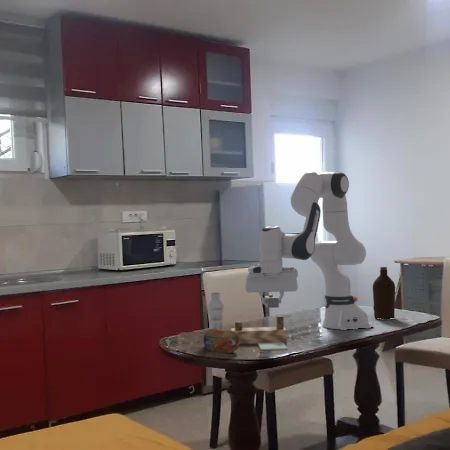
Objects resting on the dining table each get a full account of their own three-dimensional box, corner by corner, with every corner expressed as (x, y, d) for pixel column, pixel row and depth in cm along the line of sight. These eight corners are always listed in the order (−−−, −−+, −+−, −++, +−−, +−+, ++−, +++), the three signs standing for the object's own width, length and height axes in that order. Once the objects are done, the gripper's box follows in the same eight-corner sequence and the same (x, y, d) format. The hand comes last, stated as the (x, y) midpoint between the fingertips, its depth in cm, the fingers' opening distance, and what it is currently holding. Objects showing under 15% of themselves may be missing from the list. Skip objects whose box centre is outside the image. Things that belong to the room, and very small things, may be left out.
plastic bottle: (228, 341, 237) (227, 292, 236) (216, 344, 231) (215, 294, 231) (216, 339, 241) (215, 291, 240) (205, 342, 236) (204, 293, 235)
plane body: (283, 338, 241) (283, 314, 241) (286, 342, 234) (286, 317, 234) (230, 340, 239) (230, 316, 239) (232, 344, 232) (231, 319, 232)
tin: (203, 350, 223) (202, 328, 223) (208, 348, 226) (207, 326, 226) (236, 354, 215) (235, 332, 215) (240, 353, 217) (240, 330, 217)
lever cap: (278, 307, 222) (278, 296, 222) (267, 307, 222) (267, 296, 222) (275, 304, 229) (275, 293, 229) (264, 305, 229) (264, 294, 229)
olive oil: (399, 318, 282) (399, 266, 281) (388, 321, 275) (387, 268, 274) (380, 315, 290) (380, 265, 289) (368, 318, 282) (368, 267, 282)
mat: (282, 343, 231) (282, 342, 231) (287, 349, 221) (287, 347, 221) (257, 344, 230) (257, 343, 230) (261, 350, 220) (261, 348, 220)
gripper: (295, 266, 229) (296, 301, 229) (244, 267, 228) (244, 302, 228) (299, 267, 223) (299, 303, 223) (246, 269, 221) (246, 305, 222)
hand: (271, 303), depth 225 cm, fingers closed on lever cap, 4 cm apart
